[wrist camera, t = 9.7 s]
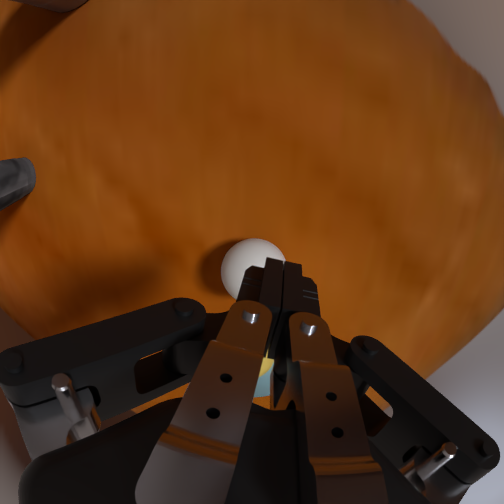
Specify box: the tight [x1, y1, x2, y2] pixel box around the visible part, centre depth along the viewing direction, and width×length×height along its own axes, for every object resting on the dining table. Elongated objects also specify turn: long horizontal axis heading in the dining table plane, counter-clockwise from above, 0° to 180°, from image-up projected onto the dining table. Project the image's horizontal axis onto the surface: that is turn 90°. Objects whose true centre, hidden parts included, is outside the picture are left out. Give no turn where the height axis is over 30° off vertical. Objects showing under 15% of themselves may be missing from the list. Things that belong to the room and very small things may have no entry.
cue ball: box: [221, 238, 286, 300], centre depth 25 cm, size 6×6×6 cm
